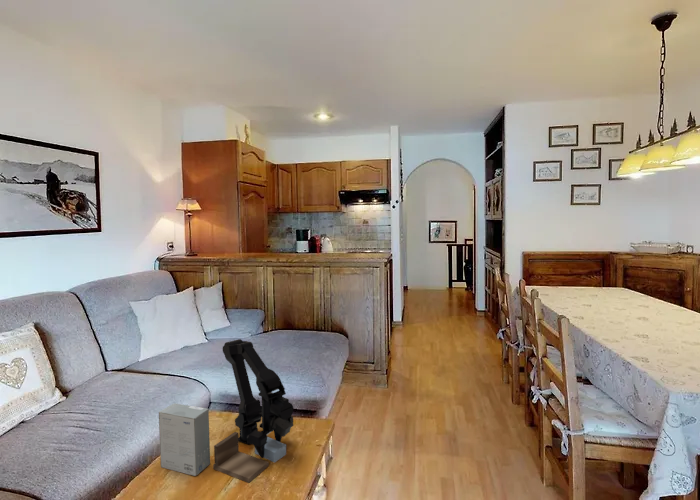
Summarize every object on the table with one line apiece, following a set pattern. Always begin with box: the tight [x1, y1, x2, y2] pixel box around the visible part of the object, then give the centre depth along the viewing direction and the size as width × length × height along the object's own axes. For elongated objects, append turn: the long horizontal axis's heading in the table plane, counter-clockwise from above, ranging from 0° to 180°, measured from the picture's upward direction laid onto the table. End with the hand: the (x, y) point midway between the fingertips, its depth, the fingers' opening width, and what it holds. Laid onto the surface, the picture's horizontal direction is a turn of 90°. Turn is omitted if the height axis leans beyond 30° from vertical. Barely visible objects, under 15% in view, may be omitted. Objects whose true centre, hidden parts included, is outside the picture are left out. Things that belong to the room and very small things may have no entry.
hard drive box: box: [158, 403, 211, 477], centre depth 135 cm, size 16×8×20 cm, turn 71°
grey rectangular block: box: [254, 436, 287, 463], centre depth 142 cm, size 10×6×4 cm, turn 56°
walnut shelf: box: [212, 431, 270, 483], centre depth 134 cm, size 16×10×8 cm, turn 63°
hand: (270, 451), depth 142 cm, fingers open, 9 cm apart
